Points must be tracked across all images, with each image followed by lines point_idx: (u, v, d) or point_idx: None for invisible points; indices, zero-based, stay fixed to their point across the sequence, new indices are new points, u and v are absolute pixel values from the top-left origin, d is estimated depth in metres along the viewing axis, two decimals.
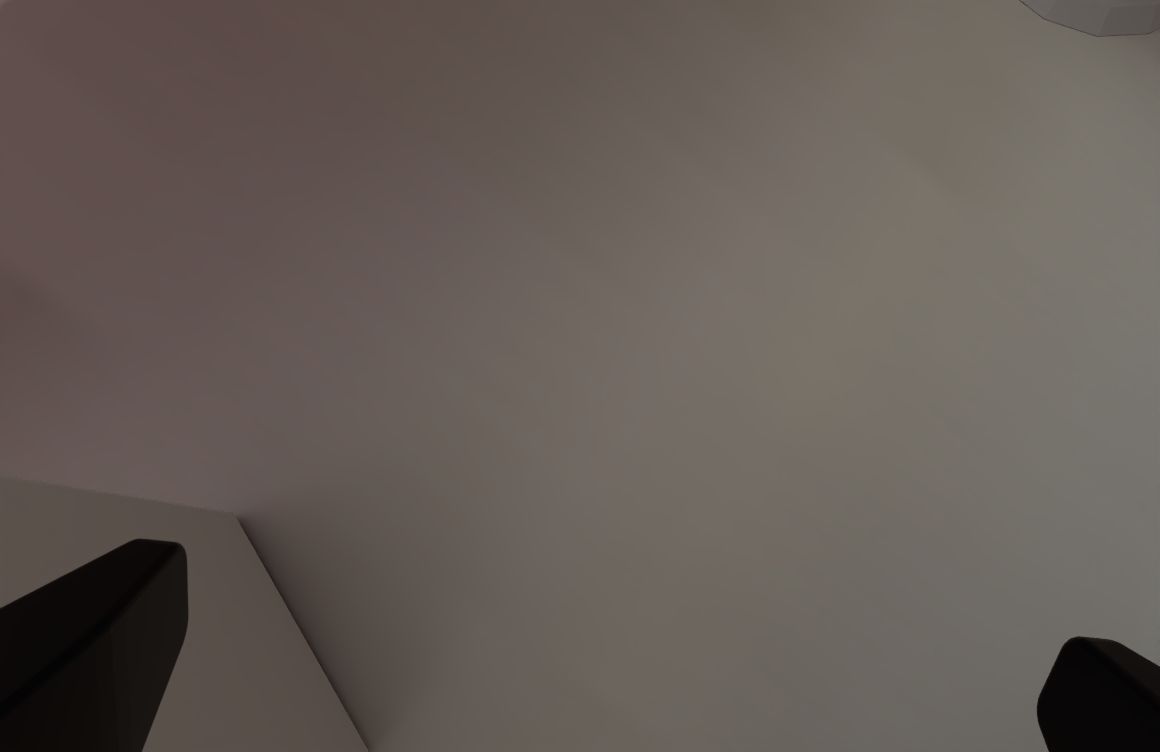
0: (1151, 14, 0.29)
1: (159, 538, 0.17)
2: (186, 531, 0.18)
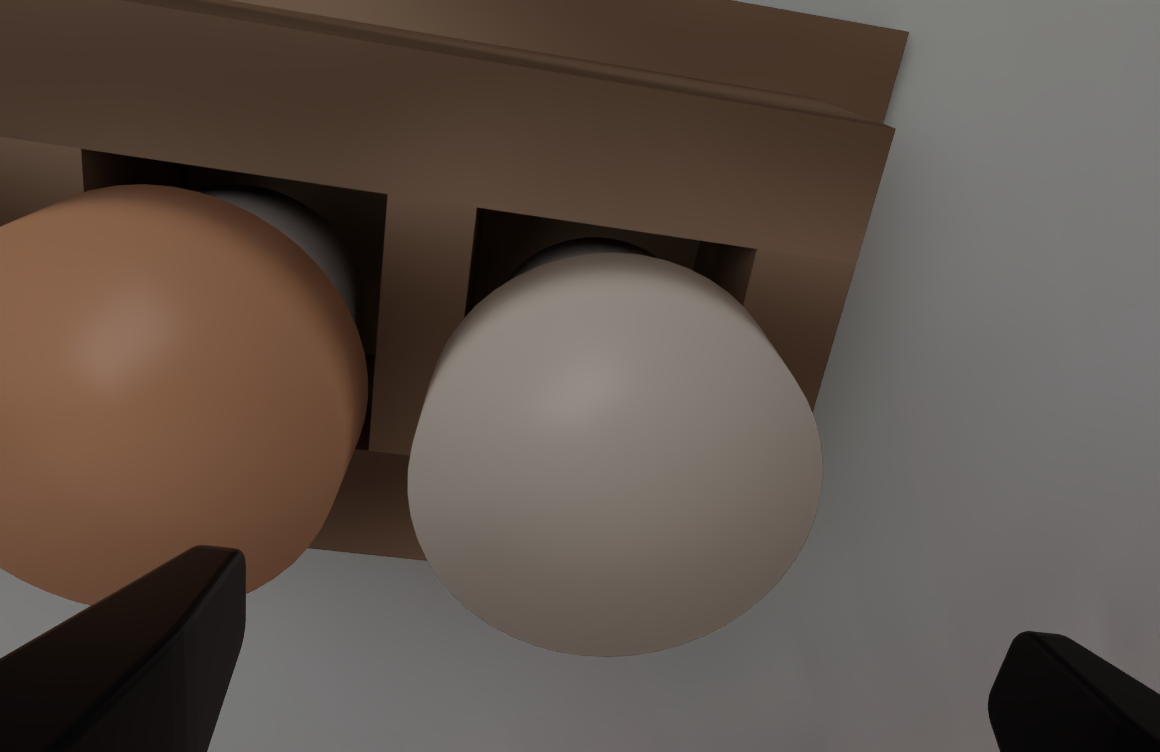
0: None
1: None
2: None
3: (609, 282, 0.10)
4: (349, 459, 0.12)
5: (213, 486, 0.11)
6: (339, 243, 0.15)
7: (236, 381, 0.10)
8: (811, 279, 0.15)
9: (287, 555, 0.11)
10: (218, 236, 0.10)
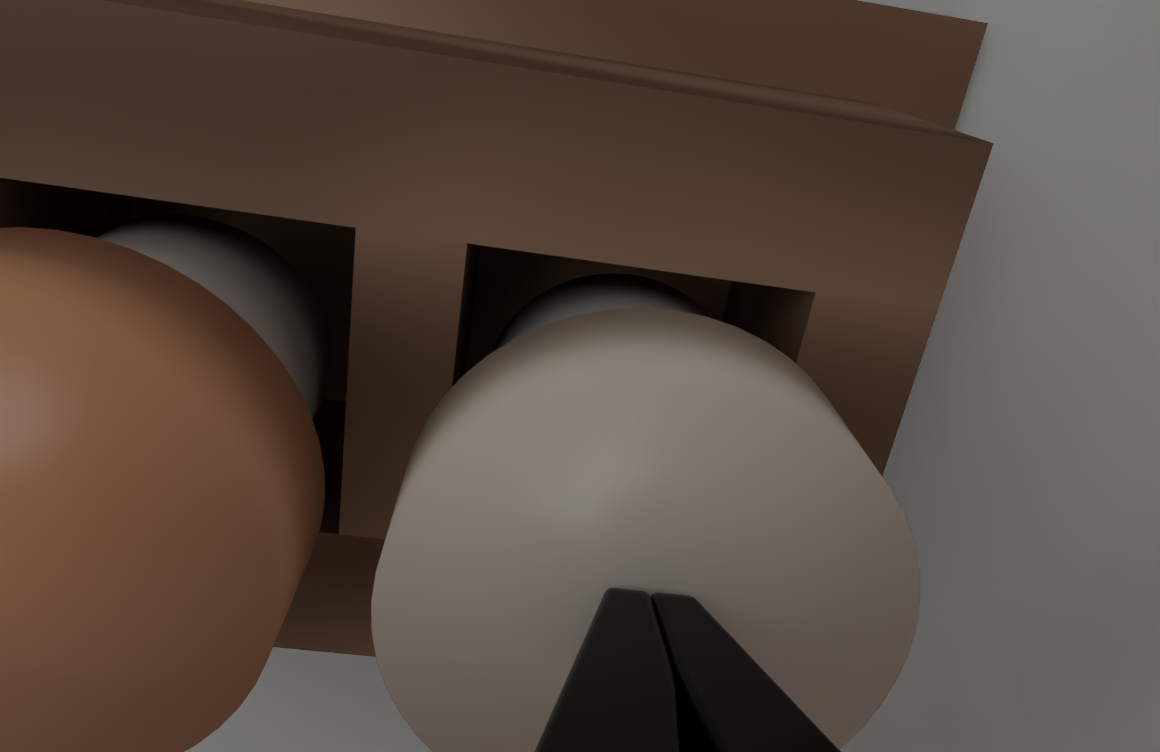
0: None
1: None
2: None
3: (638, 354, 0.08)
4: (297, 583, 0.09)
5: (108, 634, 0.08)
6: (299, 285, 0.12)
7: (131, 501, 0.07)
8: (881, 329, 0.12)
9: (211, 718, 0.08)
10: (105, 304, 0.07)
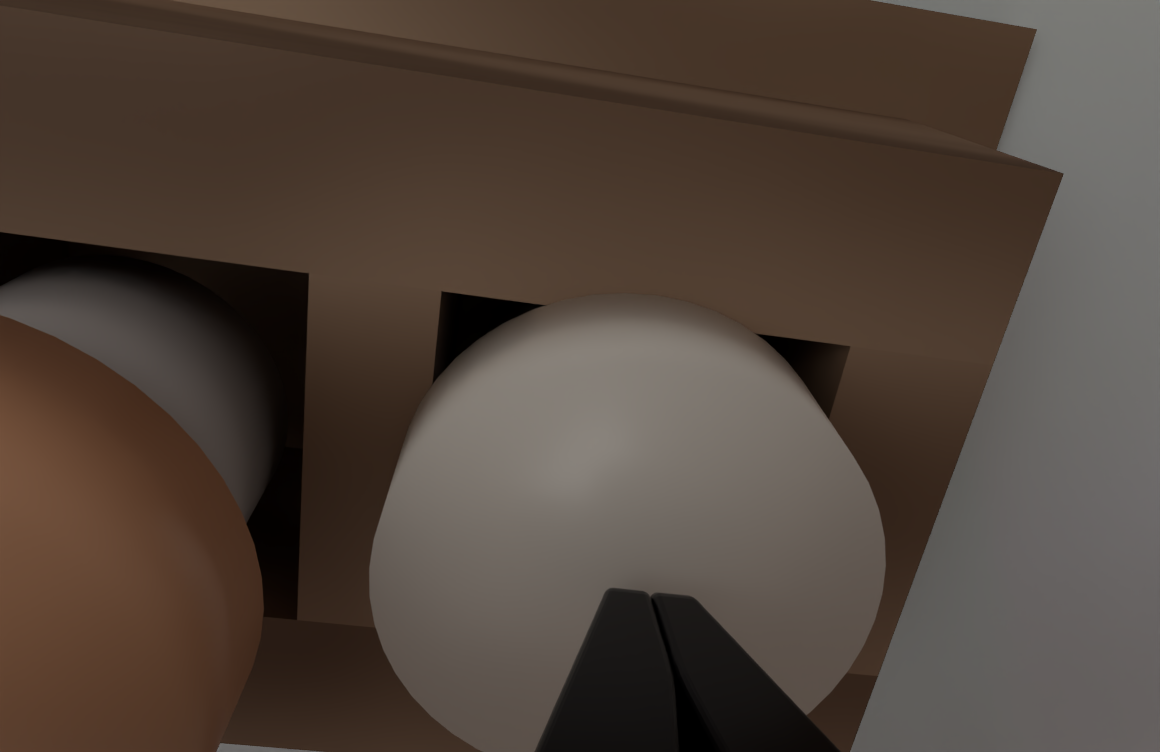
0: None
1: None
2: None
3: (620, 334, 0.08)
4: (223, 727, 0.07)
5: None
6: (247, 335, 0.10)
7: None
8: (927, 387, 0.10)
9: None
10: None
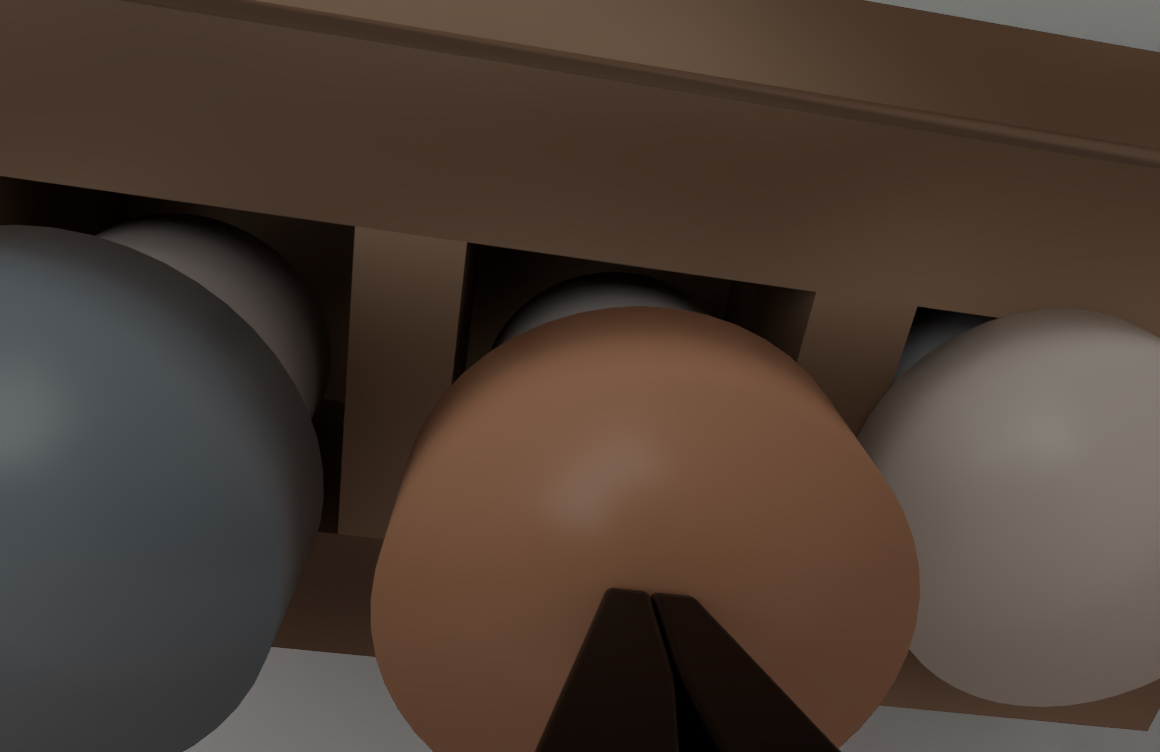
0: None
1: None
2: None
3: (1108, 342, 0.11)
4: None
5: None
6: None
7: (807, 565, 0.08)
8: None
9: None
10: (792, 384, 0.08)
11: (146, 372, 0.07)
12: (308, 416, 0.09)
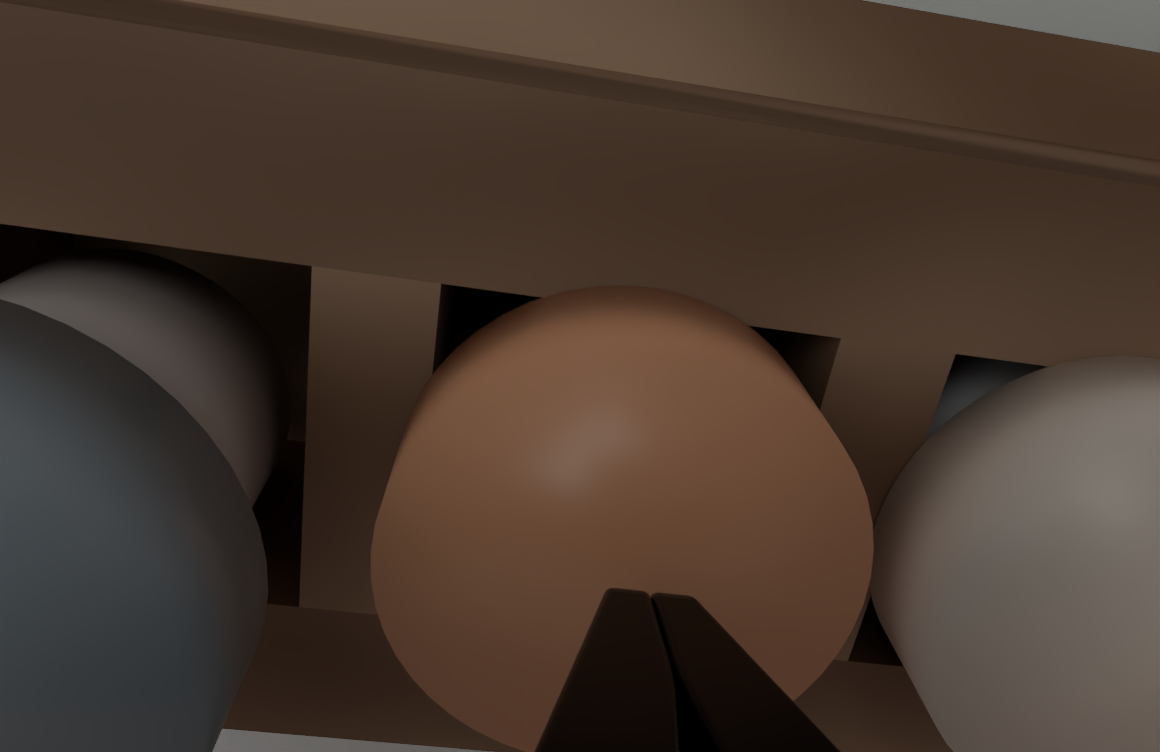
0: None
1: None
2: None
3: None
4: None
5: None
6: None
7: (770, 520, 0.09)
8: None
9: None
10: (755, 355, 0.09)
11: (19, 479, 0.06)
12: (246, 501, 0.08)
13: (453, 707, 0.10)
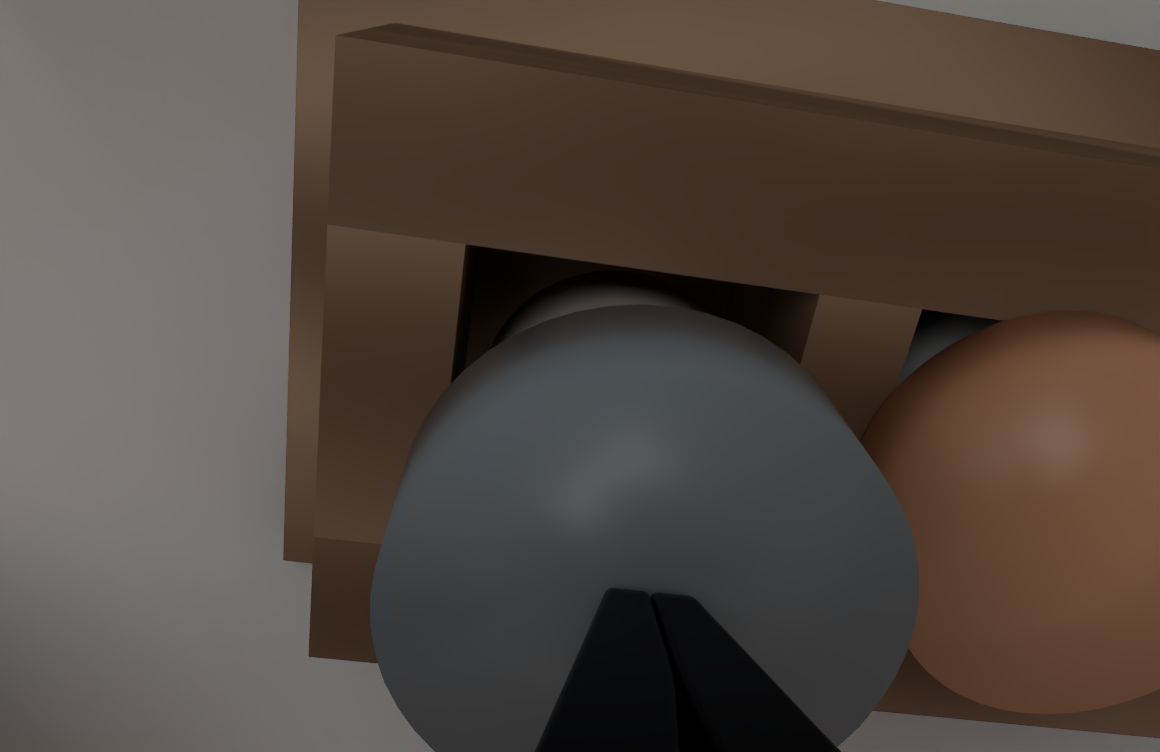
0: None
1: None
2: None
3: None
4: None
5: (1159, 601, 0.11)
6: None
7: None
8: None
9: None
10: None
11: (862, 450, 0.08)
12: None
13: (930, 663, 0.12)
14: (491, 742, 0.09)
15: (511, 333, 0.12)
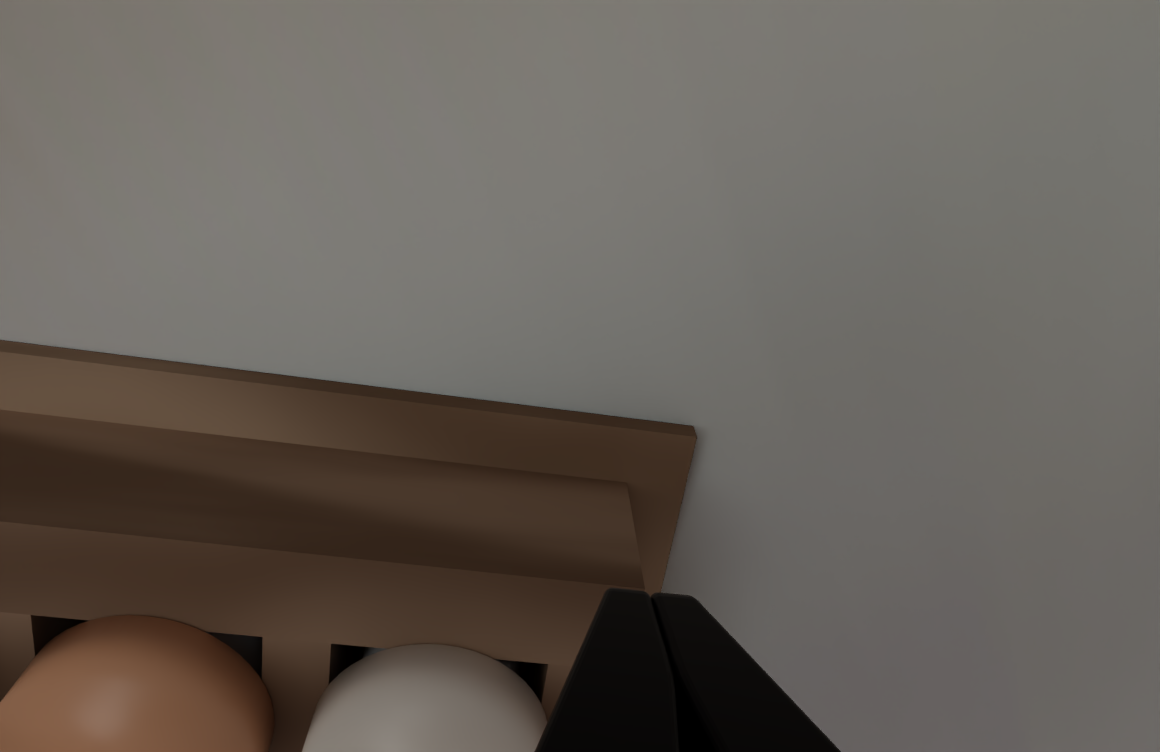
0: None
1: None
2: None
3: (409, 687, 0.17)
4: None
5: None
6: None
7: None
8: None
9: None
10: (172, 669, 0.17)
11: None
12: None
13: None
14: None
15: None
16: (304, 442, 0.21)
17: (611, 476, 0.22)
